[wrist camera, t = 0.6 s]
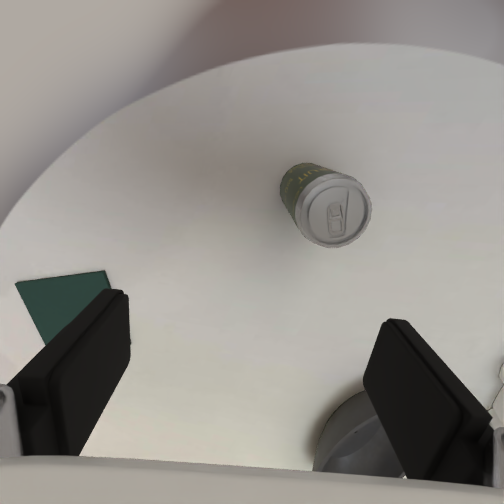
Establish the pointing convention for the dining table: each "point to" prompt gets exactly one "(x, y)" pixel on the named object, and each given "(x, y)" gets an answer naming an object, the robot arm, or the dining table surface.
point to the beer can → (326, 204)
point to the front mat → (60, 299)
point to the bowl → (356, 442)
